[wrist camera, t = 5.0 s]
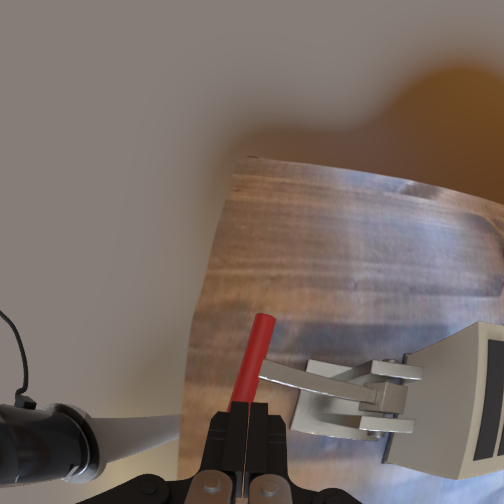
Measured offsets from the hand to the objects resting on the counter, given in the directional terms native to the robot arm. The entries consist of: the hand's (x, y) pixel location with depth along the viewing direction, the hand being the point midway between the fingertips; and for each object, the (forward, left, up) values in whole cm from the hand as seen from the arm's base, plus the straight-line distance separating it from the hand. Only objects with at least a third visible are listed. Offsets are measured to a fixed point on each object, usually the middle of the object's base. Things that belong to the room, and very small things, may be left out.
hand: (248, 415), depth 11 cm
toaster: (+20, +3, -19) cm, 28 cm away
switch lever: (+4, +3, -7) cm, 9 cm away
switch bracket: (+9, +3, -19) cm, 21 cm away
